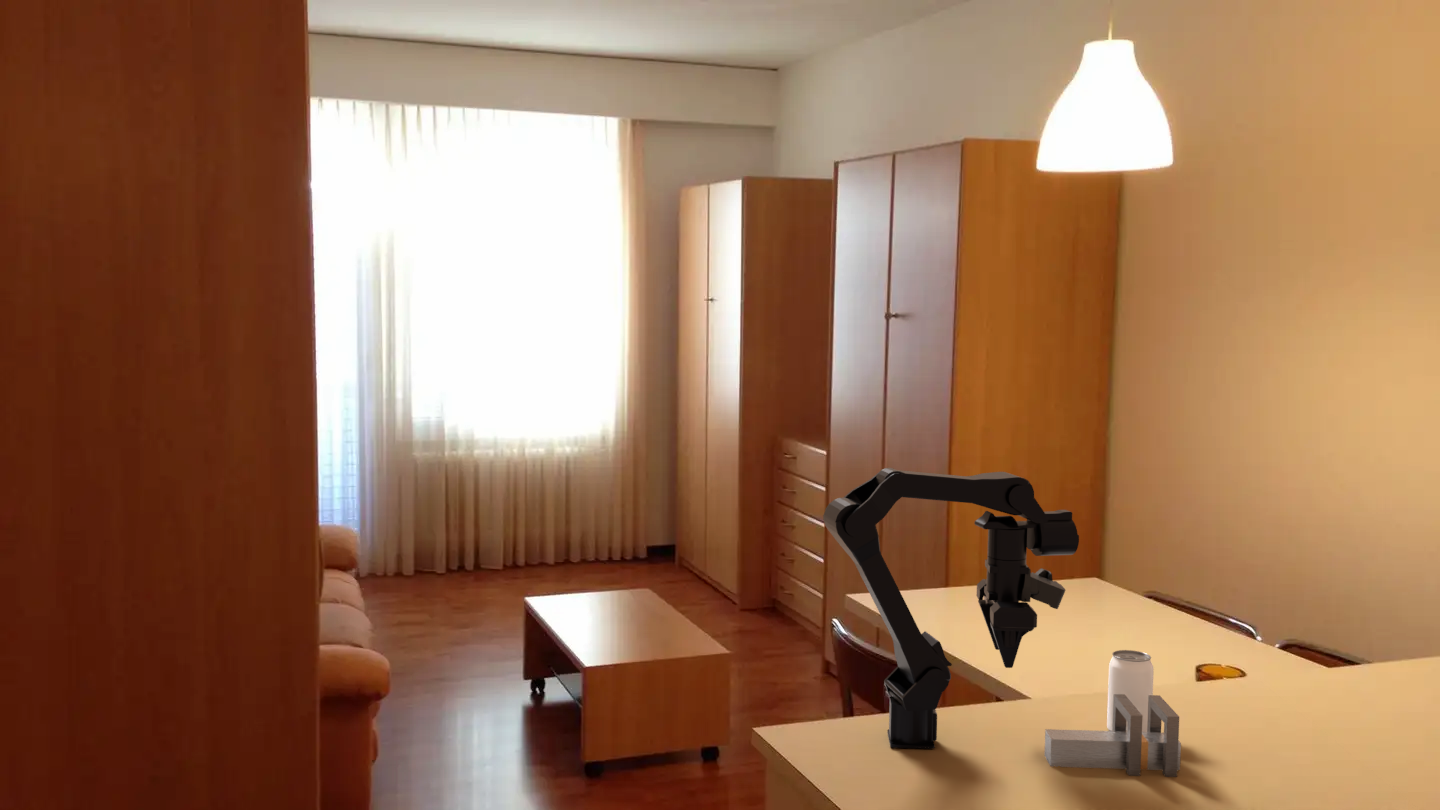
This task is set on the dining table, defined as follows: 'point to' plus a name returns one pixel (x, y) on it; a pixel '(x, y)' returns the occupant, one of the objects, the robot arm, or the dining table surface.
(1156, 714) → the collar
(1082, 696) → the dining table surface
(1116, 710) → the collar
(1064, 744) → the grey banded block
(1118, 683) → the can
